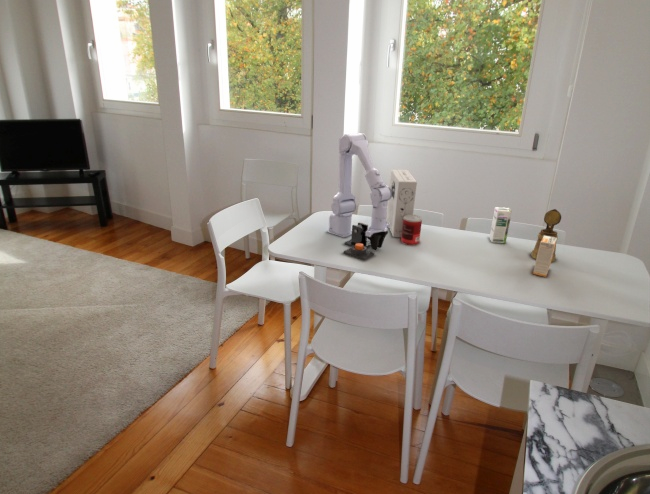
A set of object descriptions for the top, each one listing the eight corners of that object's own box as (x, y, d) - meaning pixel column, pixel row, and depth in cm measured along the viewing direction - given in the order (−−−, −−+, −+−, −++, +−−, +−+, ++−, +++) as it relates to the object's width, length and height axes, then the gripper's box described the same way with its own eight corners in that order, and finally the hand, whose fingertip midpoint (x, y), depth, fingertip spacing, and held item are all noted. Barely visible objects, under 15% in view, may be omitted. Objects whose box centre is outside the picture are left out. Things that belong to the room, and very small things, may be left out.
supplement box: (546, 277, 171) (555, 244, 165) (532, 274, 173) (540, 241, 168) (549, 269, 177) (557, 237, 172) (535, 266, 179) (543, 234, 174)
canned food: (418, 239, 203) (421, 214, 198) (420, 246, 196) (423, 221, 191) (400, 238, 203) (402, 214, 199) (401, 244, 196) (404, 220, 192)
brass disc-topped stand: (557, 252, 193) (567, 210, 185) (554, 264, 182) (565, 220, 175) (533, 247, 197) (543, 206, 189) (529, 258, 186) (539, 215, 179)
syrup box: (491, 242, 201) (497, 210, 195) (489, 237, 206) (495, 206, 200) (505, 243, 200) (512, 211, 194) (502, 238, 205) (509, 207, 200)
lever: (378, 246, 190) (381, 241, 189) (374, 248, 188) (377, 243, 187) (357, 228, 195) (360, 223, 193) (354, 230, 193) (356, 225, 191)
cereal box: (410, 238, 204) (417, 181, 194) (392, 237, 204) (398, 181, 194) (402, 221, 223) (407, 169, 213) (386, 220, 223) (391, 169, 213)
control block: (343, 253, 186) (343, 246, 185) (353, 248, 191) (354, 242, 190) (364, 261, 180) (364, 253, 179) (374, 255, 185) (374, 248, 184)
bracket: (373, 245, 195) (374, 225, 192) (362, 250, 190) (363, 230, 186) (355, 239, 201) (356, 220, 197) (344, 244, 195) (345, 224, 191)
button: (353, 248, 184) (353, 244, 184) (358, 246, 187) (358, 242, 186) (360, 251, 183) (360, 246, 182) (364, 248, 185) (365, 244, 184)
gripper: (377, 223, 177) (374, 256, 182) (397, 214, 187) (394, 246, 192) (362, 219, 181) (359, 251, 186) (382, 210, 191) (379, 241, 197)
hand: (376, 248), depth 190 cm, fingers closed on lever, 3 cm apart
